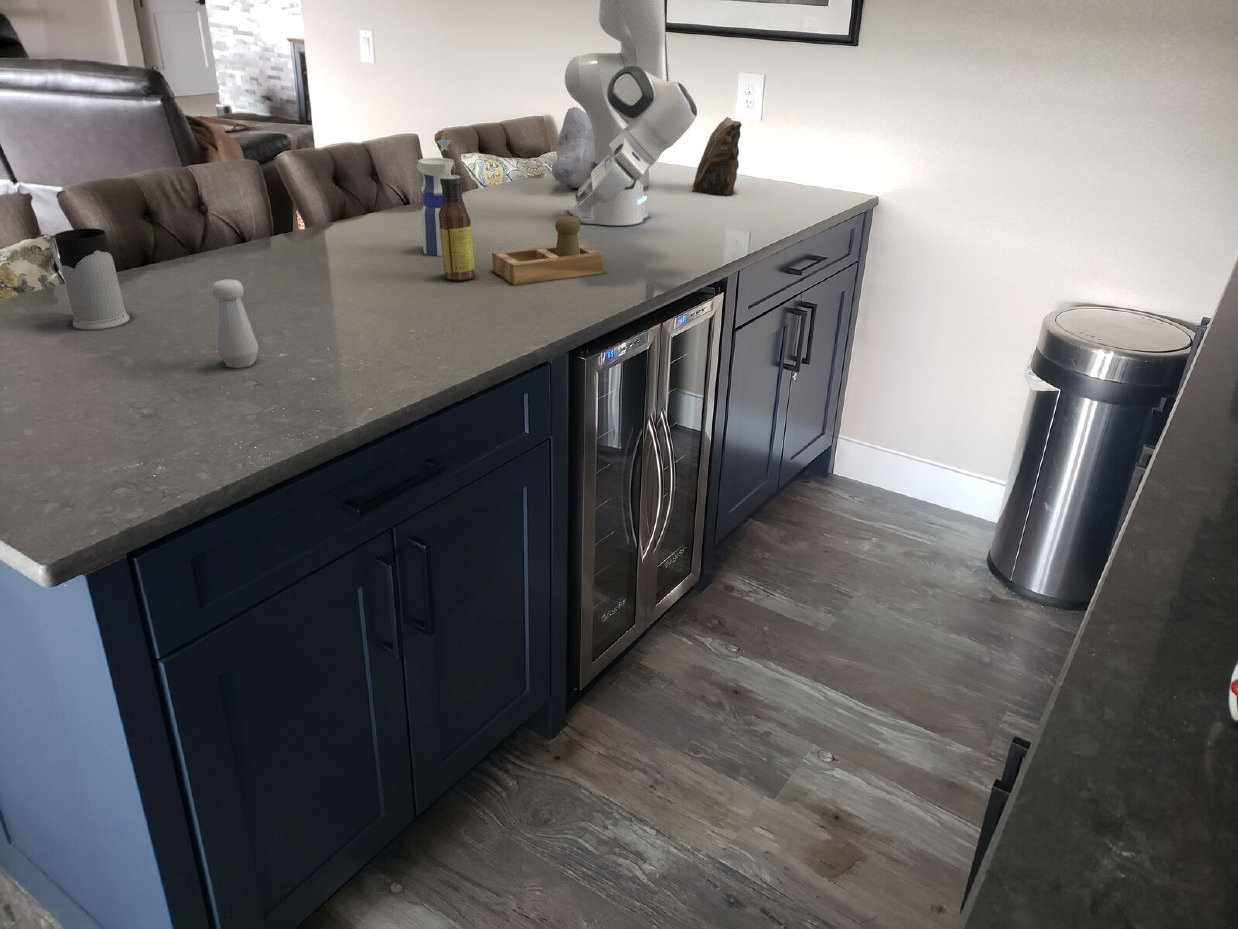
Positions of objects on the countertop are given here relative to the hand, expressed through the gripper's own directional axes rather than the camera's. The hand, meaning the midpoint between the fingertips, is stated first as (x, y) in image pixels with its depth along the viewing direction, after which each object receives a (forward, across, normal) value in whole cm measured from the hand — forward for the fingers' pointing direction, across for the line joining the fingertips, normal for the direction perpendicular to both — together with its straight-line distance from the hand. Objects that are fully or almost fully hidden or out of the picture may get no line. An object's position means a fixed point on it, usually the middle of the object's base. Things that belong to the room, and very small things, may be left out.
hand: (580, 204), depth 189 cm
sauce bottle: (+27, +7, -8) cm, 29 cm away
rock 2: (-18, -85, +38) cm, 95 cm away
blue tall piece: (+31, -14, -12) cm, 36 cm away
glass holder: (+70, +34, -50) cm, 92 cm away
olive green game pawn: (+12, 0, +8) cm, 14 cm away
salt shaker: (+47, +55, -28) cm, 77 cm away
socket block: (+14, +2, +5) cm, 15 cm away
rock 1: (+5, -88, +15) cm, 89 cm away
